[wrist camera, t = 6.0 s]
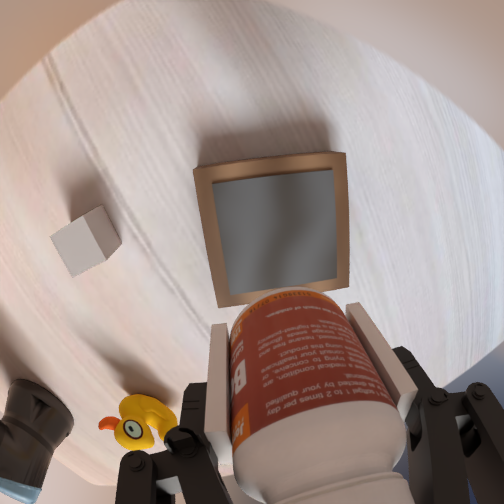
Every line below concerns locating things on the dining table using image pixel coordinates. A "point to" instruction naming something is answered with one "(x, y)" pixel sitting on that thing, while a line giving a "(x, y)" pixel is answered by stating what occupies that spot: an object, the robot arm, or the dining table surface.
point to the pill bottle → (310, 407)
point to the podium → (275, 224)
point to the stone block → (86, 241)
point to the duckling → (139, 421)
